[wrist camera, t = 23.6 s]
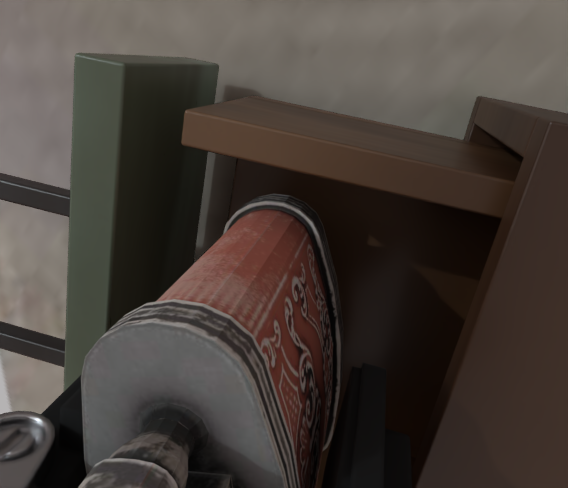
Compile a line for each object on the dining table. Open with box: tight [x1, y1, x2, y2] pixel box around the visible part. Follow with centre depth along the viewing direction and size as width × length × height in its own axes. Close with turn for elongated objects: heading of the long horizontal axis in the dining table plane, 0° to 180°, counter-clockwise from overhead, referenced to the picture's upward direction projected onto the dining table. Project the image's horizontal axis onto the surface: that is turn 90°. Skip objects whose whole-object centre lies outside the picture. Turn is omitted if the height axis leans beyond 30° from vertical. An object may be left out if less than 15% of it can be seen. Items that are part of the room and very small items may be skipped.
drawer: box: [0, 53, 523, 488], centre depth 16 cm, size 20×13×6 cm, turn 80°
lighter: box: [78, 194, 344, 488], centre depth 10 cm, size 8×3×10 cm, turn 5°
